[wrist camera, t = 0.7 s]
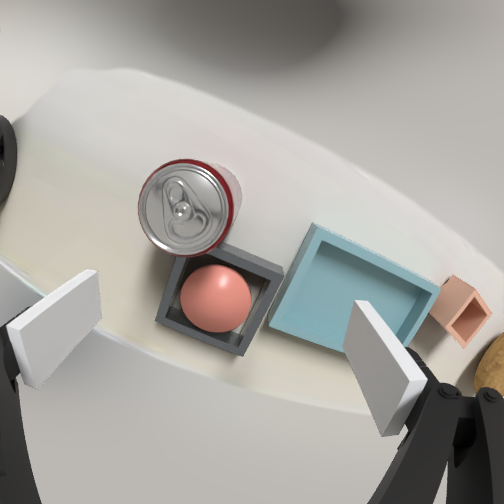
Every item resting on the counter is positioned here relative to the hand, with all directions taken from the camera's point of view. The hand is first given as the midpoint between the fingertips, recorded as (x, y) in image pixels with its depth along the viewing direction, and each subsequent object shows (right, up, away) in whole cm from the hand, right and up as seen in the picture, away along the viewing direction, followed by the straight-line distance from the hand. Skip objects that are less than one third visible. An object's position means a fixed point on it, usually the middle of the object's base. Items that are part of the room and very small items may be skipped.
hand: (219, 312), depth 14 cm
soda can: (-3, +9, +18) cm, 20 cm away
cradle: (-2, -1, +21) cm, 21 cm away
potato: (+43, -14, +23) cm, 51 cm away
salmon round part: (-2, -2, +20) cm, 20 cm away
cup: (+29, -4, +21) cm, 35 cm away
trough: (+14, -3, +21) cm, 25 cm away
